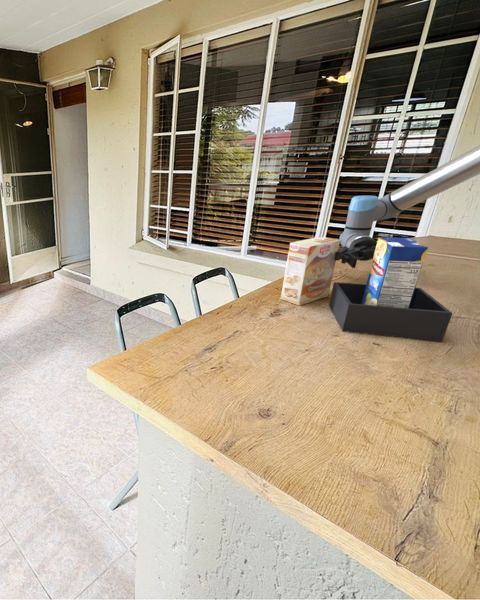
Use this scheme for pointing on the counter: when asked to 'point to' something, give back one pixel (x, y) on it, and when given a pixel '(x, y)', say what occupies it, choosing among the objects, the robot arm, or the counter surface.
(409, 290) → the beverage box
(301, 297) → the coffeecake box
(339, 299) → the bin
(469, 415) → the counter surface
